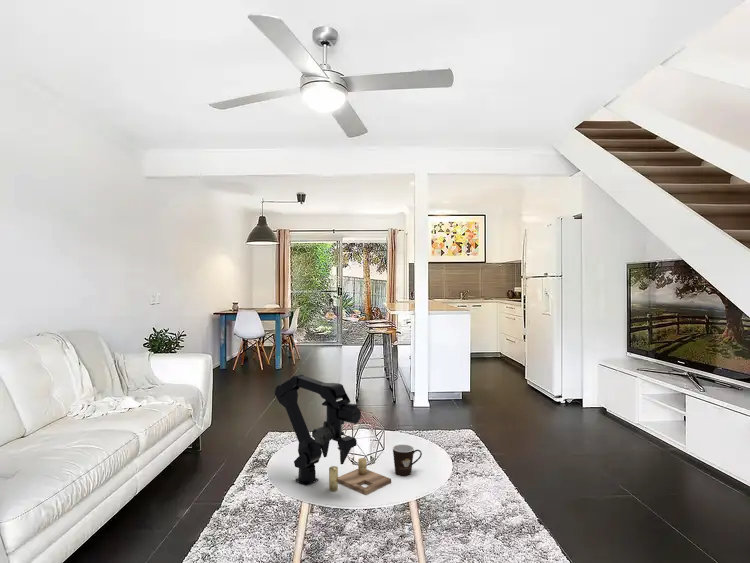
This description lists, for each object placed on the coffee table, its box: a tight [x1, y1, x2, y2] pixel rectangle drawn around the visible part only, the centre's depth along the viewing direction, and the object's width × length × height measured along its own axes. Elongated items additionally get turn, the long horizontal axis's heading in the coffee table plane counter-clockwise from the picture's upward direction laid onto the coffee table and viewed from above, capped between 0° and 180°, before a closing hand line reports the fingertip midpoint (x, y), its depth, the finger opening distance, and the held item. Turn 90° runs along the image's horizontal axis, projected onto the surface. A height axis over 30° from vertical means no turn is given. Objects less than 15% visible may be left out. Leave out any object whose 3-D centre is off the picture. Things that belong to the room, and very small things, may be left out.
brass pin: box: [328, 465, 339, 492], centre depth 172 cm, size 3×3×8 cm
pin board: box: [338, 457, 392, 496], centre depth 178 cm, size 16×14×7 cm
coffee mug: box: [392, 444, 423, 477], centre depth 186 cm, size 12×9×10 cm
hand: (333, 460), depth 171 cm, fingers open, 9 cm apart
